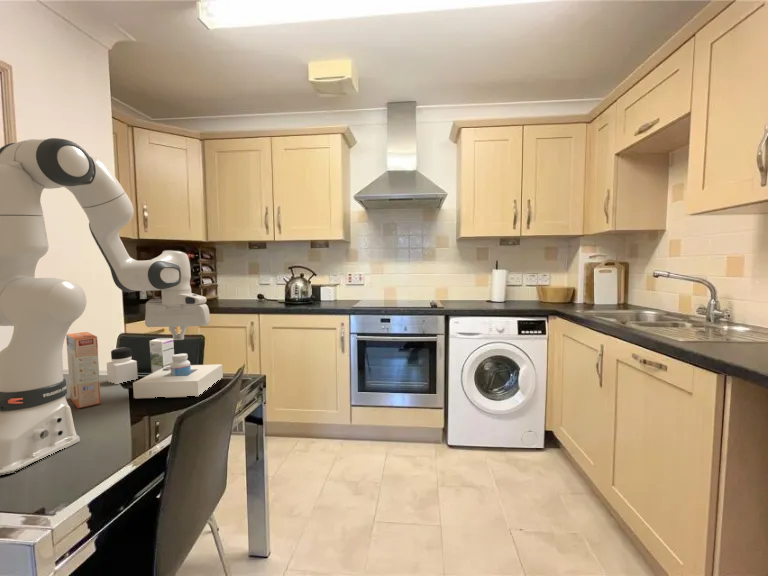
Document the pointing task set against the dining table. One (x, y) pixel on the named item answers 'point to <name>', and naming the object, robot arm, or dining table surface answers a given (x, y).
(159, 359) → the syrup box
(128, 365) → the medicine bottle
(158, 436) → the dining table surface
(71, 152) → the robot arm
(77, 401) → the cracker box
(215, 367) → the socket block
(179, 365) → the pill bottle
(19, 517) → the dining table surface
